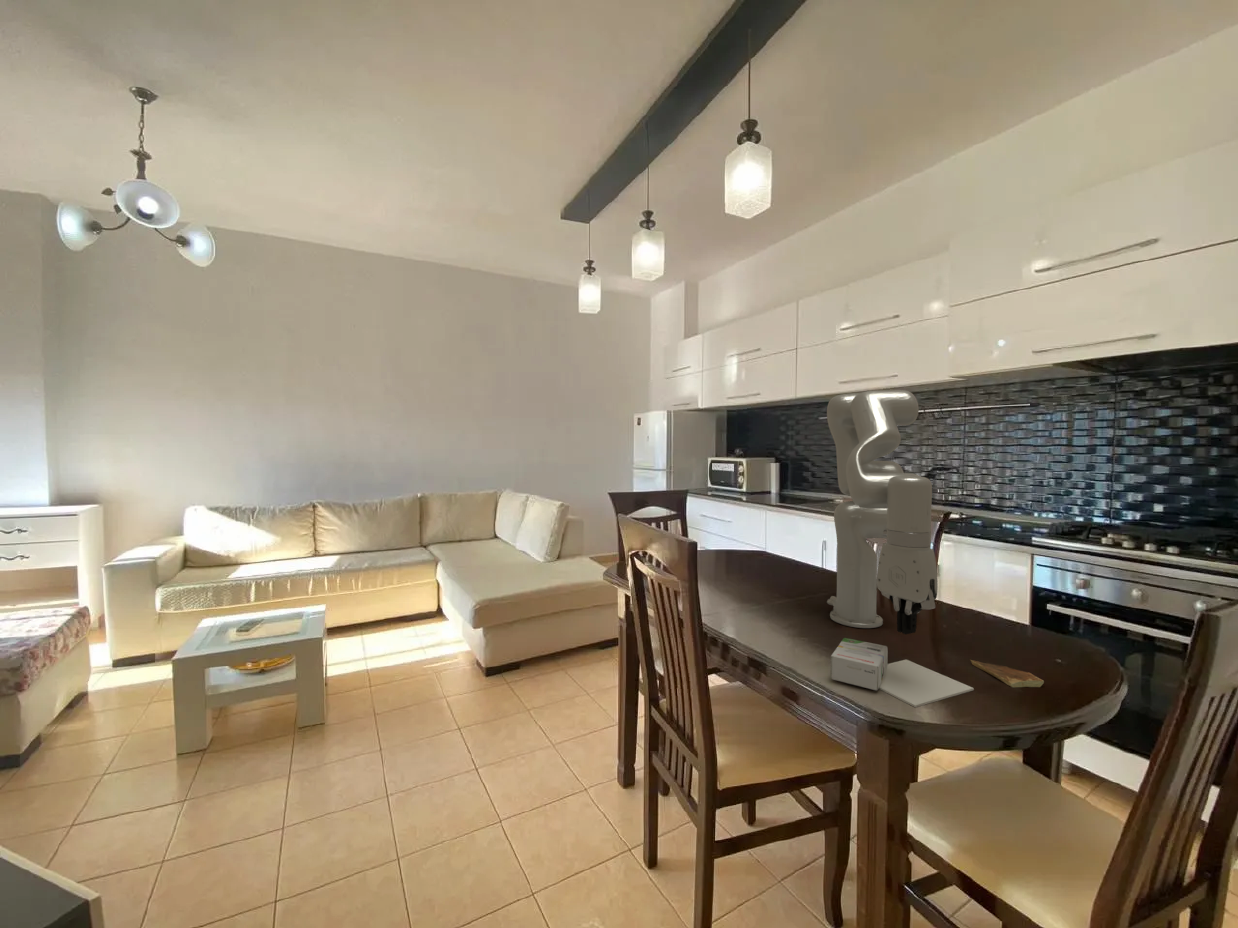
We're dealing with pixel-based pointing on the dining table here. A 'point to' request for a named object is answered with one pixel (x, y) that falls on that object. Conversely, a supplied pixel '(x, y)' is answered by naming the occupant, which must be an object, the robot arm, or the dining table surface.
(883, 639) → the dining table surface
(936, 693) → the grey mat
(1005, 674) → the shard
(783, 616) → the dining table surface
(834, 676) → the ink box
